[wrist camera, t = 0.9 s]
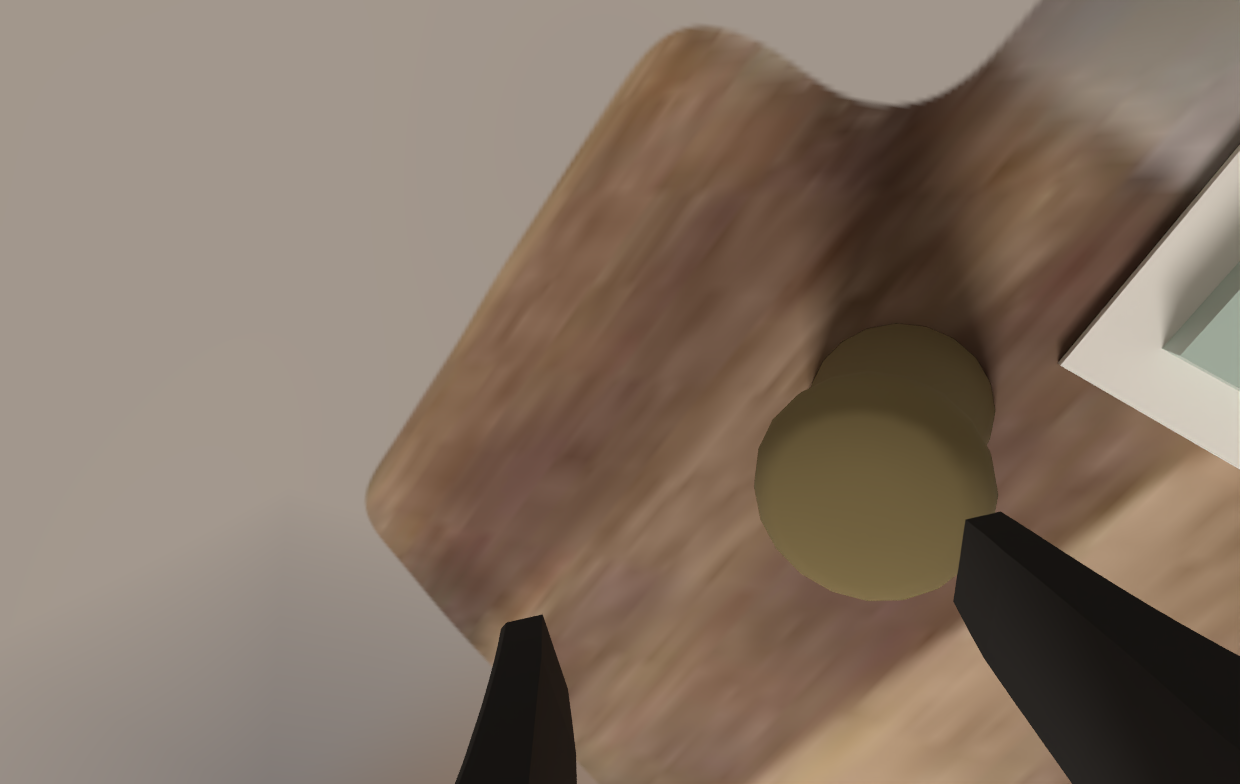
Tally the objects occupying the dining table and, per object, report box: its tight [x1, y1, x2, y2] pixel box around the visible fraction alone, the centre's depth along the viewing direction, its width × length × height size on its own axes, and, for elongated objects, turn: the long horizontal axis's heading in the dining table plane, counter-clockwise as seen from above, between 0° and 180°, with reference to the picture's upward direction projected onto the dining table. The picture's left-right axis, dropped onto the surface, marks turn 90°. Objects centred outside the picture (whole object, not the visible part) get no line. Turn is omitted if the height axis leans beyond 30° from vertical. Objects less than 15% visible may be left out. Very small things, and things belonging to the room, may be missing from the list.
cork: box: [754, 323, 998, 601], centre depth 19 cm, size 6×6×11 cm
